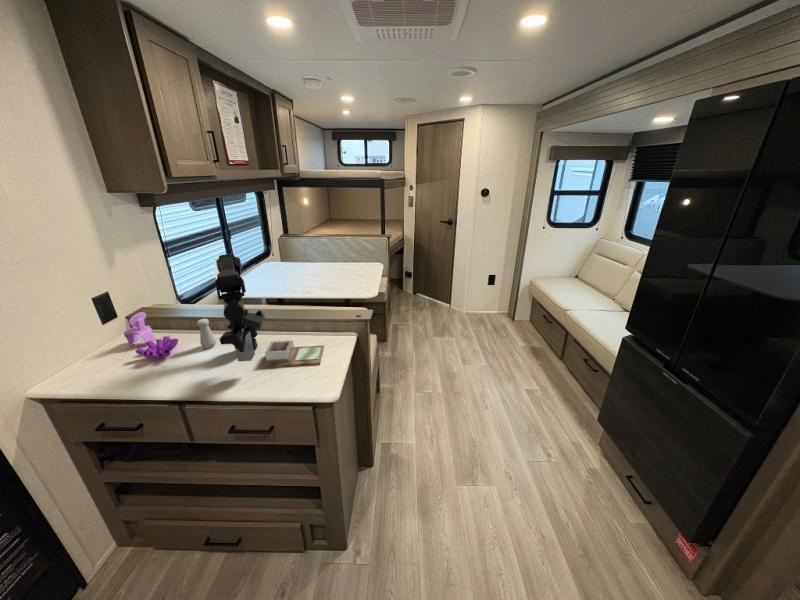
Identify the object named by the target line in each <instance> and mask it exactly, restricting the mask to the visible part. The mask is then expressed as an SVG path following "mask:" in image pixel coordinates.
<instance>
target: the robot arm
mask: <svg viewBox="0 0 800 600" xmlns="http://www.w3.org/2000/svg"><path fill="white" fill-rule="evenodd" d="M215 263H216V268H217V271H218V273H217V275H216V279H215V280H214V282H215V287H216V293H217V294H216V295H217V297H218V301H222V300H223V317H224V318H225V319H226V320H227V321H228V325H227V329H228V330H229V331H225V332H224V333H223V334H222V336H220V338H219V343H220V345H232V346H233V347H234V348H235V347H236V348H237V349H238V350H239V351H240V352H244V344H243V340H244V338H245V337H246V335H243V331H250V334H251V339H252V343H253V348H254V352H256V350H257V348H258V343H257V339H256V338H257V336H258V331H259V330H261V329H262V327H263V326H264V322H265V320H266V317H265V315H264V312H263V310H260V309H258V310H257V311H256V313H254V312H249V310H248V309H247V308H245V304H244V299H243V297H245V293H247V290H246V286H245V281H244V278H242V270H243V267H242V262H241V258H240V257H238V256H235V255H234V254H233V253H228V254H227V253H226V254H220V255H218V258H217V259H216V260H215Z"/></svg>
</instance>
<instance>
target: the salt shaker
mask: <svg viewBox="0 0 800 600" xmlns="http://www.w3.org/2000/svg"><path fill="white" fill-rule="evenodd" d="M196 324H197V326H198V327H199V333H200V334H199V335H200V337H199V341H200V342H199V344H200V345H201V346H202V348H204V349H207V350H208V349H211V348H214V347H215V346H216V343H217V339H216V338H215V334H214V333H213V331H212V330H211V328H210V325H209V324H210V321H209V319H208V318H200V319H199V320H197V321H196Z"/></svg>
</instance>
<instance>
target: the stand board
mask: <svg viewBox="0 0 800 600" xmlns="http://www.w3.org/2000/svg"><path fill="white" fill-rule="evenodd" d="M323 349H325V345H309V346H307V345H306V346H294V352H293V354H292V357H291V359H290V361H287V362H270V363H267V361H266V359H264V363H263V364H262V369H266V368H267V369H268V368H269V369H270V368H271V369H273V368H286V367H287V368H288V367H299V366H300V367H301V366H303V367H304V366H317V365H318V366H320V365H321V364H322V363H321V362H322V357H323V354H324V353H323V352H324V350H323Z"/></svg>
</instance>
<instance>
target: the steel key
mask: <svg viewBox="0 0 800 600" xmlns="http://www.w3.org/2000/svg"><path fill="white" fill-rule="evenodd" d="M243 335H246V337H245V338H244V340H243V344H244V352H240V351H239V350H238V349H237V348H236V347H235V346H234V349H235V354H236V358H237V362H251V361H252V360H253V358H254V356H255V355H256V353H255V351H254V348H253V343H252V339H251V334H250V331H243Z"/></svg>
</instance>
